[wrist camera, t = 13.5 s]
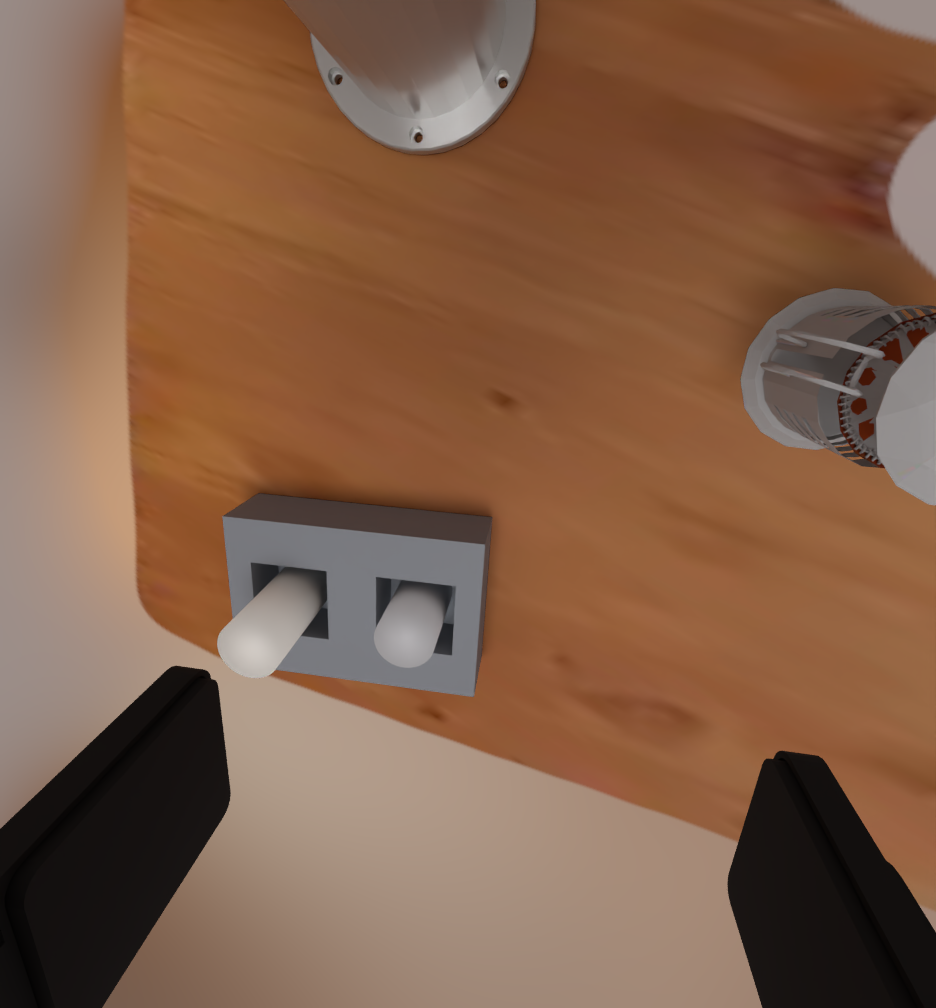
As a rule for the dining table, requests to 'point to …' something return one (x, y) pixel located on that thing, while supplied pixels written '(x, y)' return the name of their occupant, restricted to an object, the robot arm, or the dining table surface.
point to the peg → (272, 622)
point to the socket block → (372, 587)
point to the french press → (850, 383)
